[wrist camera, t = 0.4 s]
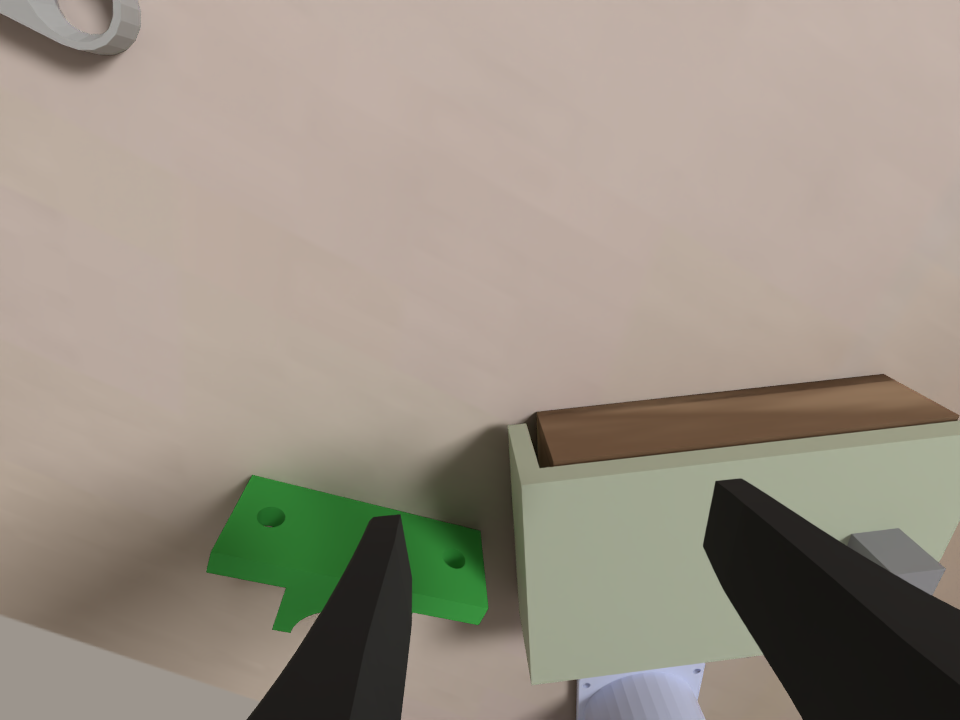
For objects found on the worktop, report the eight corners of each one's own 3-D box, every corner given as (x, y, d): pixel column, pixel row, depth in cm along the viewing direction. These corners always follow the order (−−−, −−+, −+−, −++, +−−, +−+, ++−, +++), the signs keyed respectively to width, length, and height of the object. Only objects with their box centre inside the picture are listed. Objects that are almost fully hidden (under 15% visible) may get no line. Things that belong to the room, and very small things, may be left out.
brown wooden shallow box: (820, 560, 27) (871, 617, 24) (541, 594, 26) (555, 657, 23) (883, 374, 22) (959, 415, 18) (536, 412, 21) (553, 461, 18)
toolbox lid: (841, 570, 26) (941, 680, 21) (519, 611, 26) (539, 734, 20) (912, 380, 21) (1069, 463, 16) (507, 425, 20) (531, 527, 15)
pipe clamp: (239, 529, 23) (194, 616, 19) (254, 471, 22) (209, 551, 17) (455, 578, 25) (457, 664, 21) (481, 528, 24) (489, 610, 20)
